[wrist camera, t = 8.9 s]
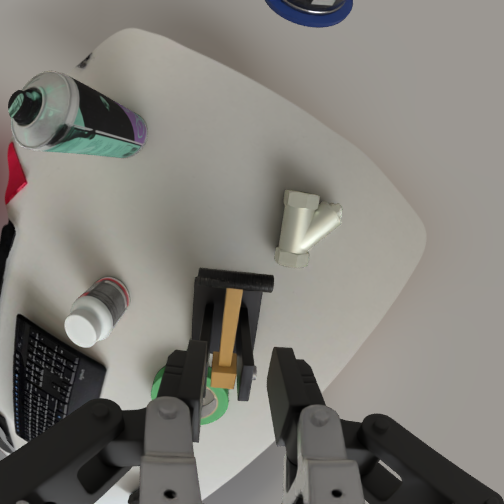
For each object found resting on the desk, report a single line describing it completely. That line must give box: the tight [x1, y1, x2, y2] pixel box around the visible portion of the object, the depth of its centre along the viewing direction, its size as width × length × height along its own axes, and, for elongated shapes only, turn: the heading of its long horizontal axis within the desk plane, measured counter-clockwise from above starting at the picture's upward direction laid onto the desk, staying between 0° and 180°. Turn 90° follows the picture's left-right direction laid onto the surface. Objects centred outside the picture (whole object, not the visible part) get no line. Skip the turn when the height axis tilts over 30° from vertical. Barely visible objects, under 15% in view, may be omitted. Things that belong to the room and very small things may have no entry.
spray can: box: [8, 71, 148, 158], centre depth 20 cm, size 6×6×20 cm
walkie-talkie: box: [128, 490, 140, 504], centre depth 44 cm, size 6×6×20 cm
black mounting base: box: [192, 277, 262, 401], centre depth 30 cm, size 10×8×13 cm
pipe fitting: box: [274, 190, 343, 268], centre depth 32 cm, size 8×4×7 cm
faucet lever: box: [198, 268, 274, 389], centre depth 23 cm, size 13×5×2 cm, turn 173°
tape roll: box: [151, 367, 228, 425], centre depth 38 cm, size 11×11×3 cm
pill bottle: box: [65, 277, 130, 347], centre depth 30 cm, size 5×5×10 cm
